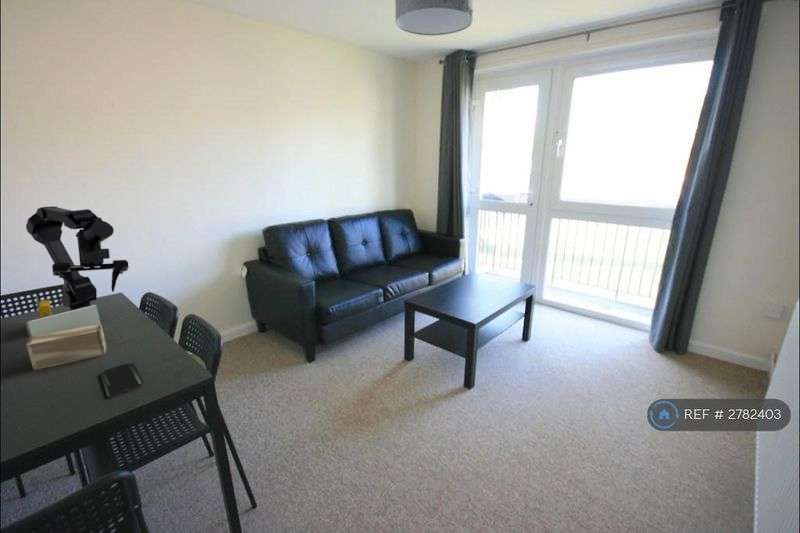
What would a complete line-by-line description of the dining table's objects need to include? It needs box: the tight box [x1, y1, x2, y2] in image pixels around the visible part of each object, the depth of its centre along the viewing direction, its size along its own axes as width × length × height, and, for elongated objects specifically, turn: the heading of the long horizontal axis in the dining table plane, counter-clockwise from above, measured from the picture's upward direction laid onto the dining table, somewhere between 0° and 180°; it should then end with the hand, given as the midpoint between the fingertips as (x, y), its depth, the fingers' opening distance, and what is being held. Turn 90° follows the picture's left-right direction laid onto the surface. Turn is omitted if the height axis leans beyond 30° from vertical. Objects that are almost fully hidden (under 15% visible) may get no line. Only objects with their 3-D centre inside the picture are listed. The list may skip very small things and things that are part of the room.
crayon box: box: [35, 297, 54, 319], centre depth 126 cm, size 7×3×12 cm, turn 42°
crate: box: [25, 324, 107, 371], centre depth 109 cm, size 6×16×8 cm, turn 125°
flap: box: [24, 304, 102, 339], centre depth 113 cm, size 1×16×12 cm, turn 145°
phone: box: [99, 362, 145, 399], centre depth 100 cm, size 8×1×15 cm
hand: (94, 293), depth 118 cm, fingers open, 9 cm apart
